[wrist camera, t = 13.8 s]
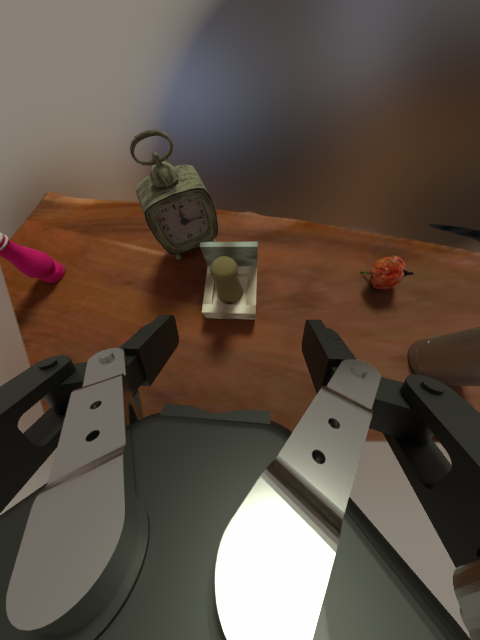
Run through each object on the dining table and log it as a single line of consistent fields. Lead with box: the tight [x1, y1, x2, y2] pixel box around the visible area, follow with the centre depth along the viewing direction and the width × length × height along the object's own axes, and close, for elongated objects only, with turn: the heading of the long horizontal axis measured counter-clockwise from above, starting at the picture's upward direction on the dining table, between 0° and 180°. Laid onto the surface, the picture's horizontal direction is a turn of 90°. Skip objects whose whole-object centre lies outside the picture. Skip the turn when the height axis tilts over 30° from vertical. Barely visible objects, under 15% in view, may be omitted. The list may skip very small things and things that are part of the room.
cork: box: [210, 256, 243, 304], centre depth 38 cm, size 6×6×11 cm
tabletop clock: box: [130, 130, 218, 260], centre depth 40 cm, size 14×9×25 cm, turn 114°
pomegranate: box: [361, 256, 415, 290], centre depth 41 cm, size 7×7×10 cm
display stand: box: [200, 242, 258, 320], centre depth 41 cm, size 12×13×11 cm
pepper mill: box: [0, 232, 65, 283], centre depth 43 cm, size 7×7×20 cm
